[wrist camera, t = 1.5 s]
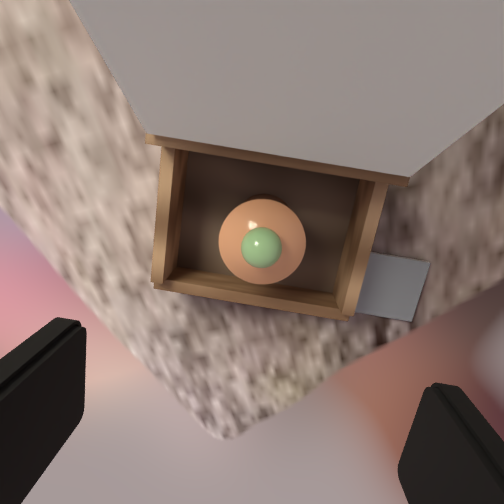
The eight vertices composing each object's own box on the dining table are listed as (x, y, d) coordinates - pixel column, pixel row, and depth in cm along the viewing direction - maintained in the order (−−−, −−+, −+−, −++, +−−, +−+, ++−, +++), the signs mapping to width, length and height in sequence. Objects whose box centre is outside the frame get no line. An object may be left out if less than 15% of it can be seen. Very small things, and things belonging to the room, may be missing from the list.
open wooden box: (189, 41, 28) (-62, -296, 7) (396, 75, 28) (782, -164, 7) (167, 273, 34) (-8, 474, 13) (339, 302, 34) (453, 555, 12)
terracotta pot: (235, 183, 31) (219, 197, 21) (304, 195, 30) (318, 214, 21) (225, 250, 32) (207, 289, 23) (291, 261, 32) (299, 305, 23)
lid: (146, 133, 21) (148, 124, 22) (409, 177, 21) (410, 167, 21) (-2, -121, 9) (5, -140, 9) (657, -16, 8) (656, -37, 9)
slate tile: (363, 250, 32) (365, 252, 31) (427, 260, 32) (430, 262, 31) (348, 308, 34) (349, 311, 33) (409, 318, 34) (411, 321, 33)
